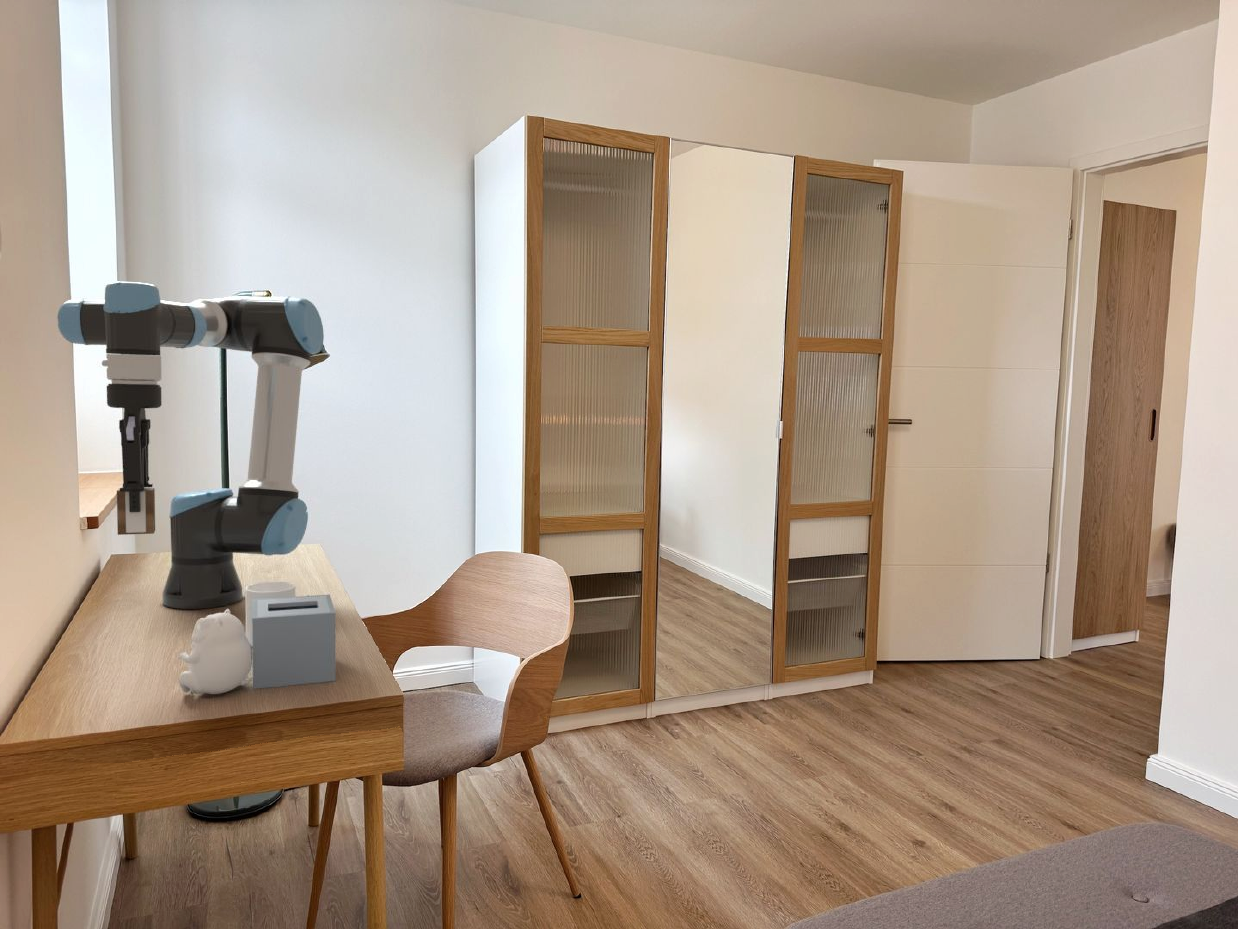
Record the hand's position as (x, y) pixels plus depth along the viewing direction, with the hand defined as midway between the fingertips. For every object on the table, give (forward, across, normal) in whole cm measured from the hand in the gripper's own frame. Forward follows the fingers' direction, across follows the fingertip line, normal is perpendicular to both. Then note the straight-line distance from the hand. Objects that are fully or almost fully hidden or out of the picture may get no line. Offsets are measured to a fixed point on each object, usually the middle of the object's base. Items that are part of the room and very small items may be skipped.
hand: (137, 530), depth 139 cm
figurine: (+23, +15, +12) cm, 30 cm away
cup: (+23, -10, +20) cm, 32 cm away
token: (0, 0, 0) cm, 0 cm away
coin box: (+22, +10, +23) cm, 34 cm away
